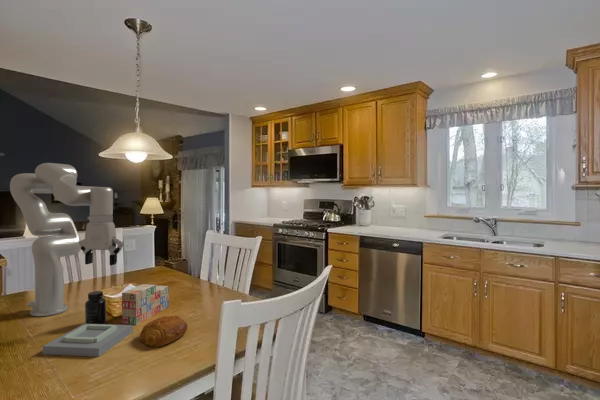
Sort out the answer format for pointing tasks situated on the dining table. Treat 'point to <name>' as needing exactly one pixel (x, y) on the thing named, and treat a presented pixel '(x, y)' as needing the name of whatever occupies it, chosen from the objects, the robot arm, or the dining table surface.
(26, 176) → the robot arm
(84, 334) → the base plate
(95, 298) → the supplement bottle
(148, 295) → the stack of blocks
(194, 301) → the dining table surface
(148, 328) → the croissant
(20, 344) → the dining table surface
